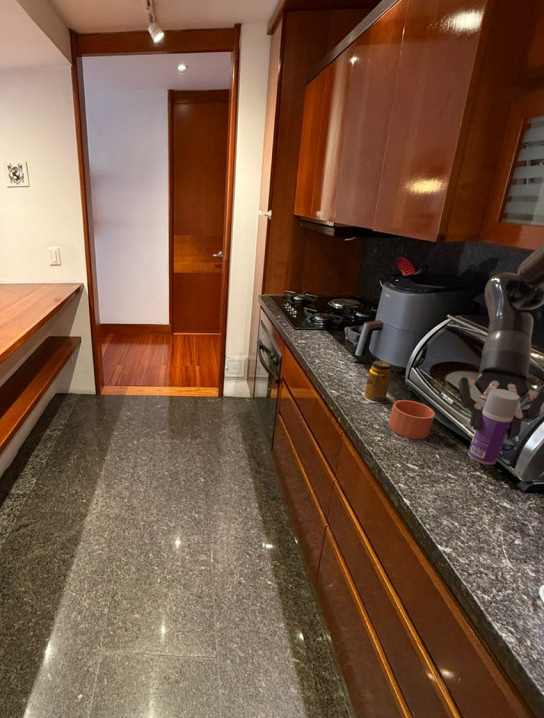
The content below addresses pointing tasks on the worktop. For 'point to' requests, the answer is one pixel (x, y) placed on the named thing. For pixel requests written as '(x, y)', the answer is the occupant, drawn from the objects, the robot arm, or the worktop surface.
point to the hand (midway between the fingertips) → (493, 432)
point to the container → (493, 426)
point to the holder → (411, 419)
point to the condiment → (378, 383)
